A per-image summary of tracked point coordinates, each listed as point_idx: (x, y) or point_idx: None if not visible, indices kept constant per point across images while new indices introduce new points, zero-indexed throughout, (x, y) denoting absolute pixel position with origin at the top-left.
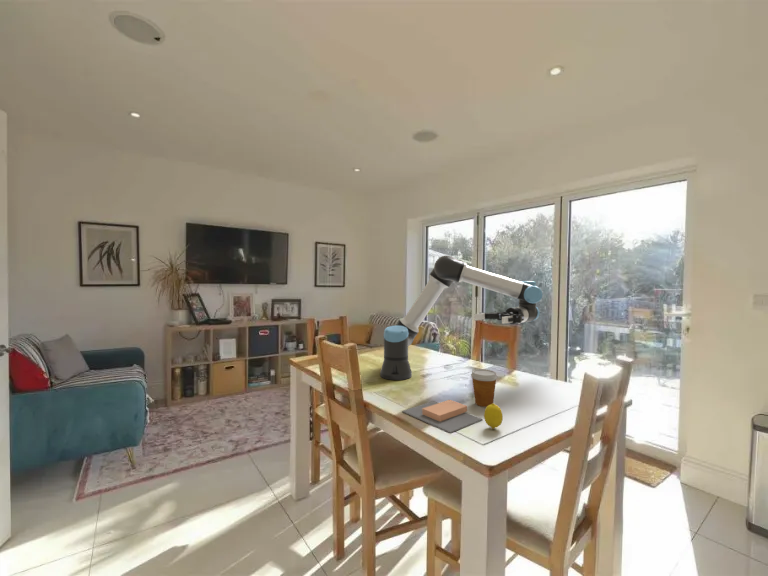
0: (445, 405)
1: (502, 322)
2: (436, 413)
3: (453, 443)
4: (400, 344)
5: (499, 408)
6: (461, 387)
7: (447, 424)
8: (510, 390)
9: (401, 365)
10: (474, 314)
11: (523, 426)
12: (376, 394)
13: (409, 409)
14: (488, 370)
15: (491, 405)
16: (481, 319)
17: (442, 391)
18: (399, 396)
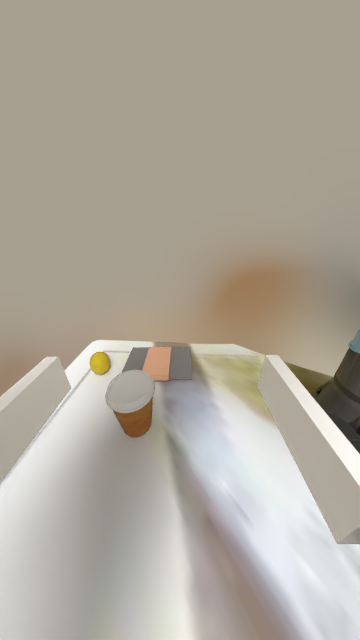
0: (160, 362)
1: (65, 382)
2: (154, 347)
3: (124, 342)
4: (349, 356)
5: (91, 357)
6: (226, 475)
7: (142, 353)
8: (113, 623)
9: (330, 392)
10: (276, 356)
11: (70, 397)
12: (247, 354)
13: (188, 351)
14: (128, 402)
15: (99, 352)
16: (293, 456)
17: (222, 418)
18: (230, 365)
